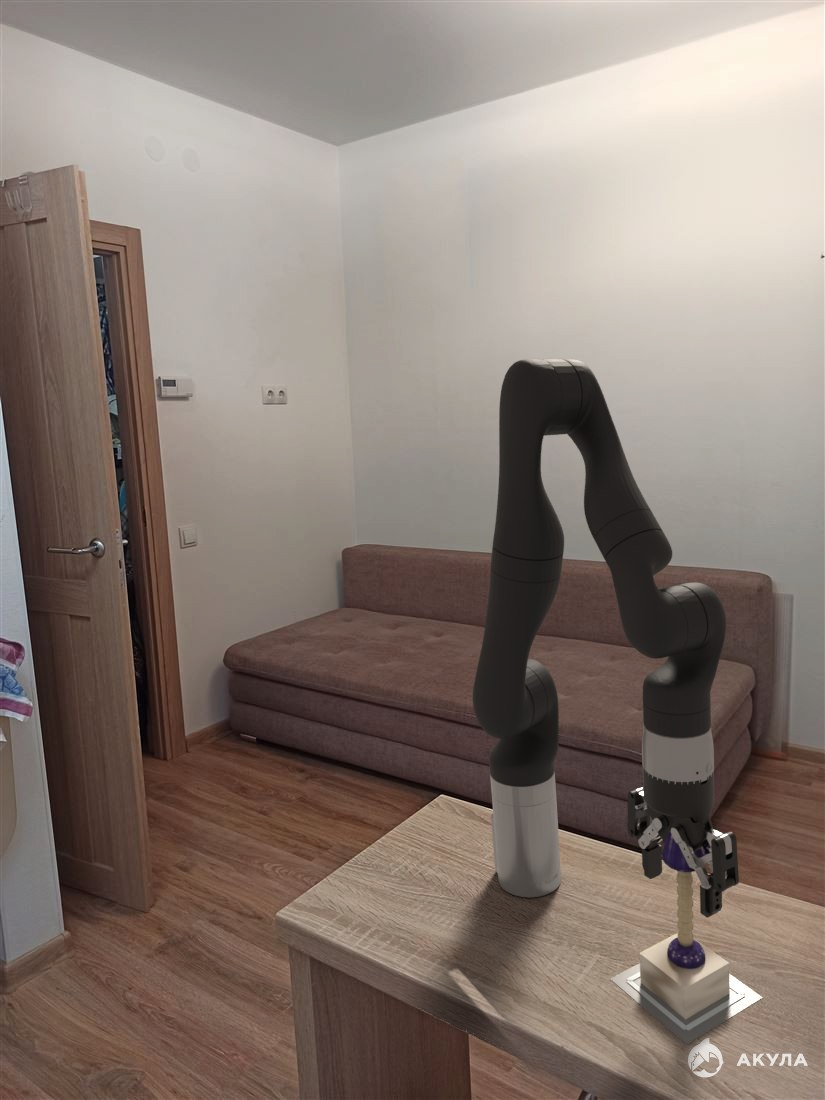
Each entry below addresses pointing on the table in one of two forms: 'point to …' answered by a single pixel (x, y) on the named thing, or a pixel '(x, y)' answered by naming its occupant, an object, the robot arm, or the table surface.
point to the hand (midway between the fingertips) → (680, 894)
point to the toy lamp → (683, 909)
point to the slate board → (698, 1022)
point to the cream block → (684, 979)
